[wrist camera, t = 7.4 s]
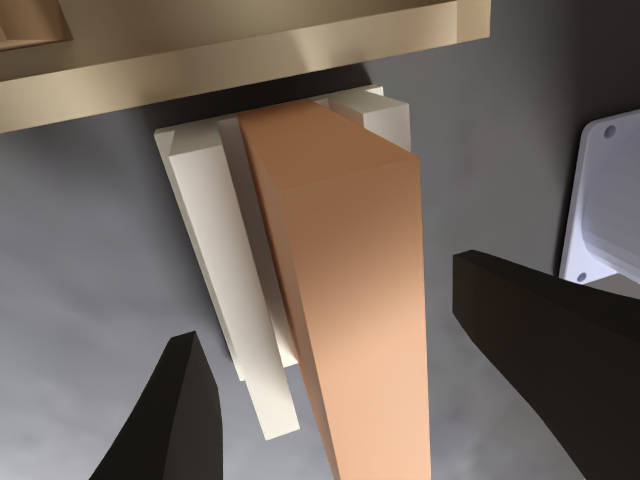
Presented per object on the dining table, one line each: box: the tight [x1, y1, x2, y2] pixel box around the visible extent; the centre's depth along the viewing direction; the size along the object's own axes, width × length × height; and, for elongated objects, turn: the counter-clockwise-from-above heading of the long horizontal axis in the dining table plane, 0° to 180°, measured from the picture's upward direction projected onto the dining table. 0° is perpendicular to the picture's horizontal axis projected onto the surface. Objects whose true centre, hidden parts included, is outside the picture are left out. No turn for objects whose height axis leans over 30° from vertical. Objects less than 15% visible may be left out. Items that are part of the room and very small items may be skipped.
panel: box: [236, 99, 431, 480], centre depth 11 cm, size 2×10×7 cm, turn 9°
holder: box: [154, 84, 411, 440], centre depth 13 cm, size 7×10×4 cm
